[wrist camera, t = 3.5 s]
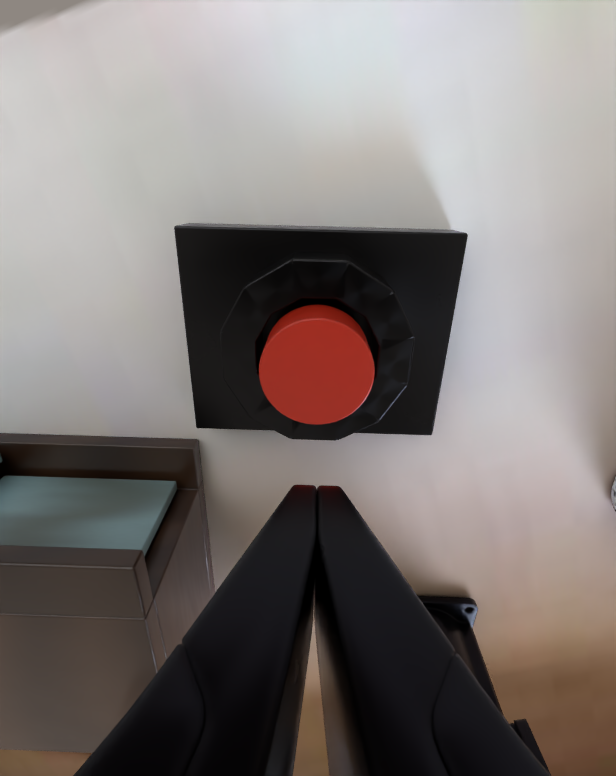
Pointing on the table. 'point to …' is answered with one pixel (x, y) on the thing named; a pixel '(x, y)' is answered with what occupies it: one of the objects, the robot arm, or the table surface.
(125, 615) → the display cabinet
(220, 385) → the button housing
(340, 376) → the red button
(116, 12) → the table surface
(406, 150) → the table surface
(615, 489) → the pill bottle
